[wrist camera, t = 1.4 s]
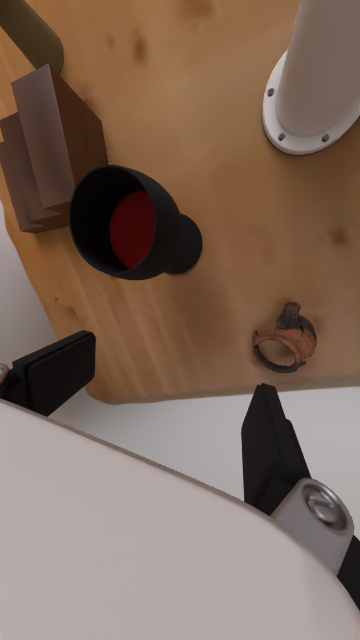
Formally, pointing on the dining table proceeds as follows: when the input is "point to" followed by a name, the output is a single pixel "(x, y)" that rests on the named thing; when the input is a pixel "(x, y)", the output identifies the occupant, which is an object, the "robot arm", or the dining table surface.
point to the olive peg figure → (31, 34)
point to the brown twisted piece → (288, 338)
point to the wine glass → (130, 225)
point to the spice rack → (48, 149)
